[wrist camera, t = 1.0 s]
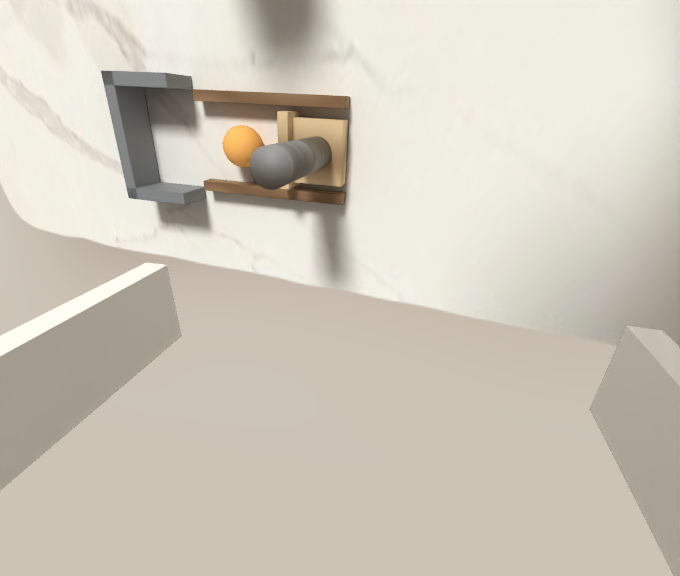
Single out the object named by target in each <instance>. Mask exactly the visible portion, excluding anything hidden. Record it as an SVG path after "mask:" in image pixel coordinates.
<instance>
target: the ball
mask: <svg viewBox="0 0 680 576" xmlns="http://www.w3.org/2000/svg"><path fill="white" fill-rule="evenodd" d="M262 146H263V142H262V140H261V137H260V136H259V134H258V133H257V132H256V131H255V130H253V129H252V128H250V127H248V126H242V125H240V126H235V127H233V128H231V129H230V130H229V131H228V132H227V133H226V135H225V137H224V140H223V149H224V152H225V155H226V156H227V158H228V159H229V160H230V161H231V162H232V163H233V164H235V165H237V166H240V167H250V159H251V156H252V154H253V153H254V151H255V150H256V149H258V148H259V147H262Z"/></svg>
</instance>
